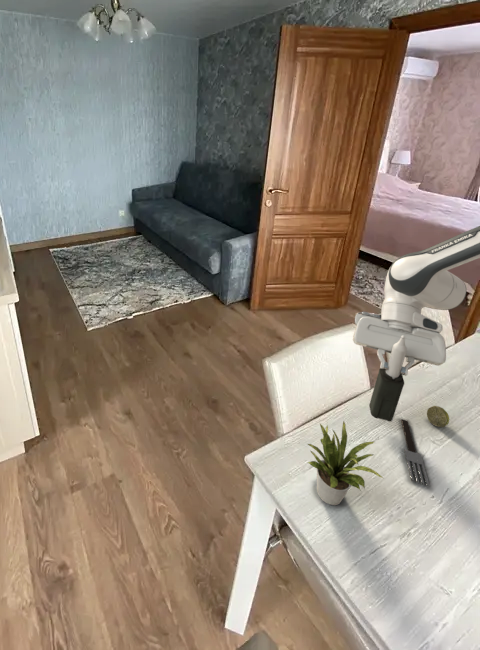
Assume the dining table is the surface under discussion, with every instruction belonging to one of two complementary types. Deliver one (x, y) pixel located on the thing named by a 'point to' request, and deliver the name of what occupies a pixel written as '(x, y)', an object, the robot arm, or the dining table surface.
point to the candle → (389, 384)
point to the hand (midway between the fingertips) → (393, 371)
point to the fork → (413, 456)
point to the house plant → (338, 467)
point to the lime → (437, 416)
